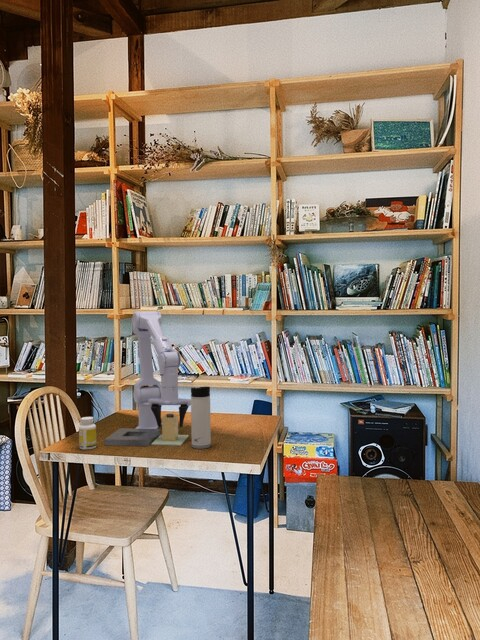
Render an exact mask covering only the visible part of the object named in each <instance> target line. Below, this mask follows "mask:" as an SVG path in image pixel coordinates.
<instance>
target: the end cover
mask: <svg viewBox="0 0 480 640" xmlns="http://www.w3.org/2000/svg"><path fill="white" fill-rule="evenodd" d="M161 423H162V425H161V428H162V429H161V432H162V433H161V435H162V441H176V440H177V439H178V435H179V414H174V413H166V414H164V415H163V416H161Z"/></svg>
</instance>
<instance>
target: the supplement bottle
mask: <svg viewBox="0 0 480 640" xmlns="http://www.w3.org/2000/svg"><path fill="white" fill-rule="evenodd" d="M94 420H95V419H94V416H83V417H81V418H80V423H81V424H80V425H79V426H78V447H79V449H81V450H82V451H83V450H85V451H86V450H92V449H96V447H97V425H96V424H95V423H94Z"/></svg>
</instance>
